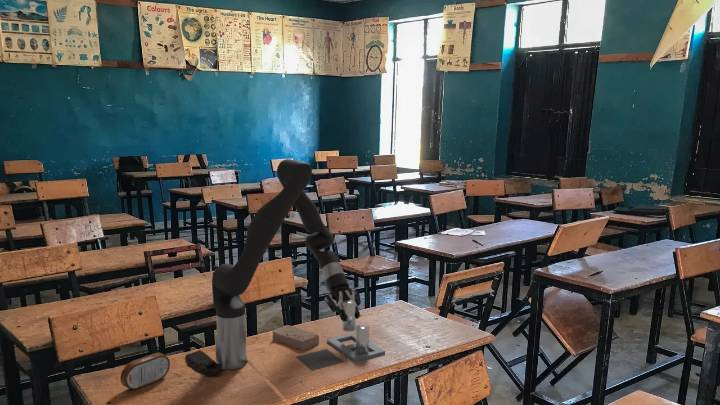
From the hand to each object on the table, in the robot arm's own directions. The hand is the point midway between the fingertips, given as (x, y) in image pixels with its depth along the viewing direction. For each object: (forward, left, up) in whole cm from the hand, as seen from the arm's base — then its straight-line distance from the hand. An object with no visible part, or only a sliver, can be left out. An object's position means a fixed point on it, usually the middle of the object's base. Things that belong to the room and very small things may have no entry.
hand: (351, 319), depth 188 cm
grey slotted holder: (0, -3, -11) cm, 11 cm away
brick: (-15, +14, -11) cm, 24 cm away
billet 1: (0, +2, -4) cm, 5 cm away
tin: (-67, +10, -11) cm, 68 cm away
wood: (-49, +14, -11) cm, 52 cm away
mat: (-15, -4, -11) cm, 19 cm away
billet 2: (0, -7, -11) cm, 13 cm away
